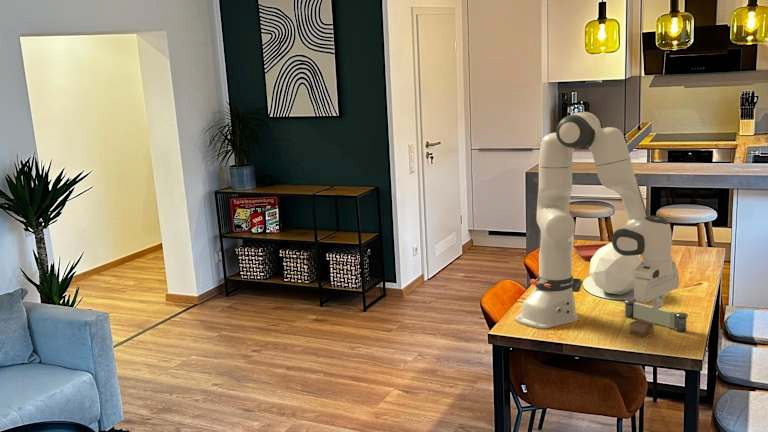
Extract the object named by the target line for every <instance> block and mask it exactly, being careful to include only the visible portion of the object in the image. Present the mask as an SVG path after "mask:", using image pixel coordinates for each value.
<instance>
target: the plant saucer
mask: <svg viewBox="0 0 768 432" xmlns="http://www.w3.org/2000/svg"><path fill="white" fill-rule="evenodd" d="M608 244H609V243H598V244H597V243H596V244H594V243H593V244H580V245H579V244H577V245H573V248H572V249H573V250H574V251H575V252H576V253H577V254H578V255H579V256H580V258H582V260H583V261H591V259H592V257H593V256H594V255H595V253H596V252H597V251H598V250H599V249H600V248H602V247H604V246H606V245H608Z"/></svg>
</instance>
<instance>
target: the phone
mask: <svg viewBox="0 0 768 432" xmlns="http://www.w3.org/2000/svg"><path fill="white" fill-rule="evenodd" d="M581 282H582V279H581V278H574V277H573V287H572V291H573V293H575V292H579V289H580V286H581Z"/></svg>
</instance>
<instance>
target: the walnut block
mask: <svg viewBox="0 0 768 432" xmlns="http://www.w3.org/2000/svg"><path fill="white" fill-rule="evenodd" d="M654 324H655V323H653V322H649V321H646V320H642V319H638V318H637V319H636V320H633V321H632V322H630V329H629V331H630V335H632V334H633V335H632V336H635V335H636V336H635V337H638V338H642V339H645V337H646V338H648V337H650V336H652V334H653V335H654V329H655V325H654ZM649 335H650V336H649ZM647 336H648V337H647Z"/></svg>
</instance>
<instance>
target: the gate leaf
mask: <svg viewBox="0 0 768 432" xmlns="http://www.w3.org/2000/svg"><path fill="white" fill-rule="evenodd" d="M676 313H677V312H675V311H671V310H667V309H663V308H659V309H657V310H656V309H653V305H648V304H645V303H641V302H637V301H636V302H635V303H634V305H633V317H634V319H637V320H638V319H642V320H646V321H649V322H653V323H654V324H657V325H661V326H663V327H668V328H670V329H671V328H672V329H676Z"/></svg>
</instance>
